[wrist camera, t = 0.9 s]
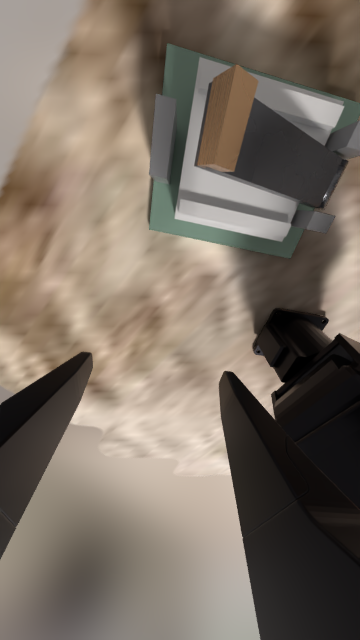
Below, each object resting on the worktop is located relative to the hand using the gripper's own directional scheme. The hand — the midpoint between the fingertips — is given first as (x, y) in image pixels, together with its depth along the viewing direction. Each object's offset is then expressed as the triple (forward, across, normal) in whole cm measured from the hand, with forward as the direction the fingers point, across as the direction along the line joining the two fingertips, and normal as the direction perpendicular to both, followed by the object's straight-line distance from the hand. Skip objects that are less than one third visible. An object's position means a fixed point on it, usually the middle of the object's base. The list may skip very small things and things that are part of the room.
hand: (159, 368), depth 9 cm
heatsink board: (+12, -4, -10) cm, 16 cm away
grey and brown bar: (+6, -4, -10) cm, 12 cm away
